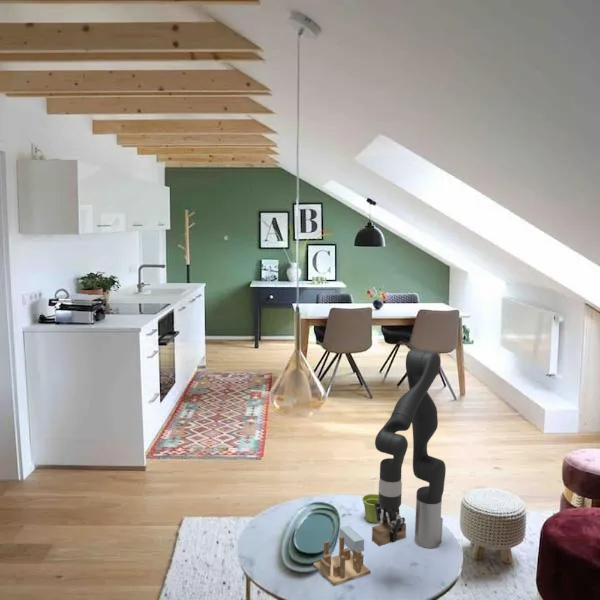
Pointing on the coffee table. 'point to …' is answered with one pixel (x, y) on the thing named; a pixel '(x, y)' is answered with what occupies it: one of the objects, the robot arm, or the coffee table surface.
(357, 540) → the gray rectangular block
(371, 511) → the plant pot
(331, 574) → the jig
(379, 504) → the robot arm
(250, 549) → the coffee table surface
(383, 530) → the tan wooden beam
